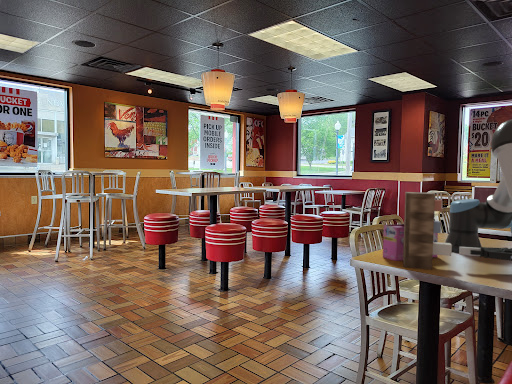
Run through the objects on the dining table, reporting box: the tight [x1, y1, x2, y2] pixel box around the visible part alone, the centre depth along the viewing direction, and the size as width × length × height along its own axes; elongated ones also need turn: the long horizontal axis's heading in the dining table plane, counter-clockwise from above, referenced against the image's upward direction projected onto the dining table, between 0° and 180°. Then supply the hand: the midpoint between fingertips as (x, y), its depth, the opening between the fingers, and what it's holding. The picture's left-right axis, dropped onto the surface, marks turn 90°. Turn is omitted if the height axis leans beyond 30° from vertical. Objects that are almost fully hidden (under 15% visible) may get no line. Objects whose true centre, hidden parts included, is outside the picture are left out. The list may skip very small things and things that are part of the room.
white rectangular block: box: [433, 241, 453, 257], centre depth 141 cm, size 9×4×4 cm, turn 71°
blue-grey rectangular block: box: [434, 220, 442, 234], centre depth 142 cm, size 9×4×4 cm, turn 71°
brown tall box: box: [402, 191, 436, 271], centre depth 143 cm, size 10×10×27 cm
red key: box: [434, 199, 443, 212], centre depth 142 cm, size 9×4×4 cm, turn 71°
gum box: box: [382, 223, 439, 262], centre depth 159 cm, size 24×8×14 cm, turn 113°
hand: (459, 250), depth 138 cm, fingers closed
